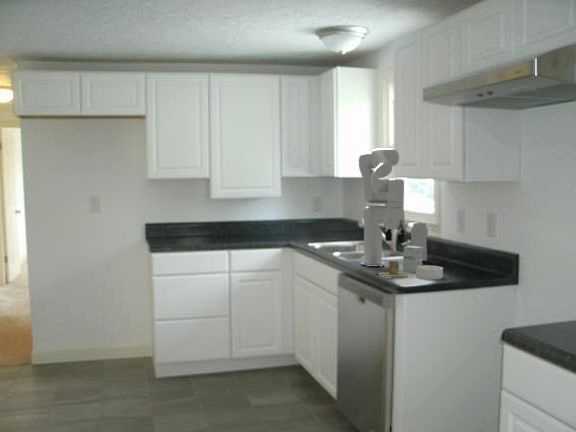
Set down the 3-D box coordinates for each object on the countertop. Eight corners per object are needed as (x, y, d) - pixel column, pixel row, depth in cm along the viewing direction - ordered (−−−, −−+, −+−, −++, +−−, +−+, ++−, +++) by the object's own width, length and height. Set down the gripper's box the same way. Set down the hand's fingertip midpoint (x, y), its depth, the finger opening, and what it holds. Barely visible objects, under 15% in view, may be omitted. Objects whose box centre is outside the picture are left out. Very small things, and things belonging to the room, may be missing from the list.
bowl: (411, 276, 285) (412, 266, 285) (431, 275, 290) (431, 264, 290) (427, 281, 275) (427, 270, 275) (447, 279, 280) (447, 268, 280)
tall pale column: (411, 262, 332) (412, 222, 331) (408, 261, 336) (409, 222, 335) (428, 261, 335) (430, 222, 334) (425, 260, 339) (426, 221, 338)
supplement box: (402, 271, 300) (403, 246, 299) (409, 270, 306) (409, 245, 305) (415, 273, 295) (416, 248, 294) (422, 271, 301) (423, 246, 300)
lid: (373, 274, 288) (373, 260, 287) (396, 272, 294) (397, 258, 293) (390, 279, 276) (390, 264, 275) (414, 277, 281) (414, 262, 281)
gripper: (378, 204, 288) (377, 240, 289) (400, 206, 273) (399, 243, 274) (391, 204, 291) (390, 239, 292) (413, 206, 276) (412, 243, 277)
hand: (394, 241), depth 283 cm, fingers open, 9 cm apart
